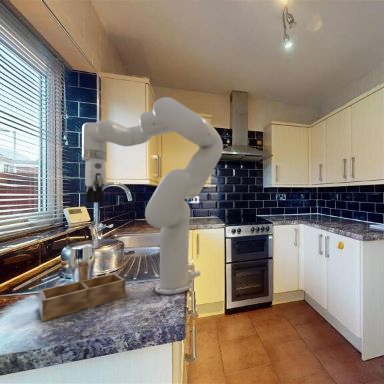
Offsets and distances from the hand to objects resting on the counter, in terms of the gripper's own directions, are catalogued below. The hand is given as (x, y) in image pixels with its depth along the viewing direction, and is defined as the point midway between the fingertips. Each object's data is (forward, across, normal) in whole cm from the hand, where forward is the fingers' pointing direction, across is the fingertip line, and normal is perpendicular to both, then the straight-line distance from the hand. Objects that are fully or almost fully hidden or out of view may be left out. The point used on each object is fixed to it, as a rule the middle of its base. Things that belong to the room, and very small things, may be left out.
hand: (94, 202), depth 86 cm
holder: (+30, -16, +6) cm, 35 cm away
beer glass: (+31, -3, +4) cm, 31 cm away
